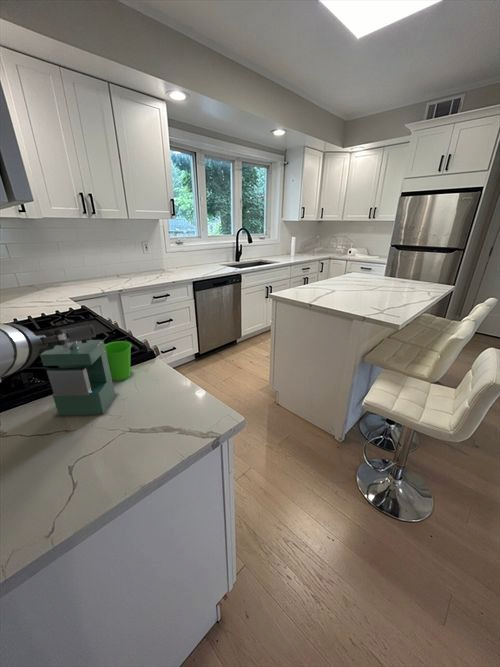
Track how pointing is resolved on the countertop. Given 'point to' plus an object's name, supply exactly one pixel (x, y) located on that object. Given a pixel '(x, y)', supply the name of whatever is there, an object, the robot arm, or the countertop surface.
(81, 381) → the plate
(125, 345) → the cup
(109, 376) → the dispenser
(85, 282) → the countertop surface
